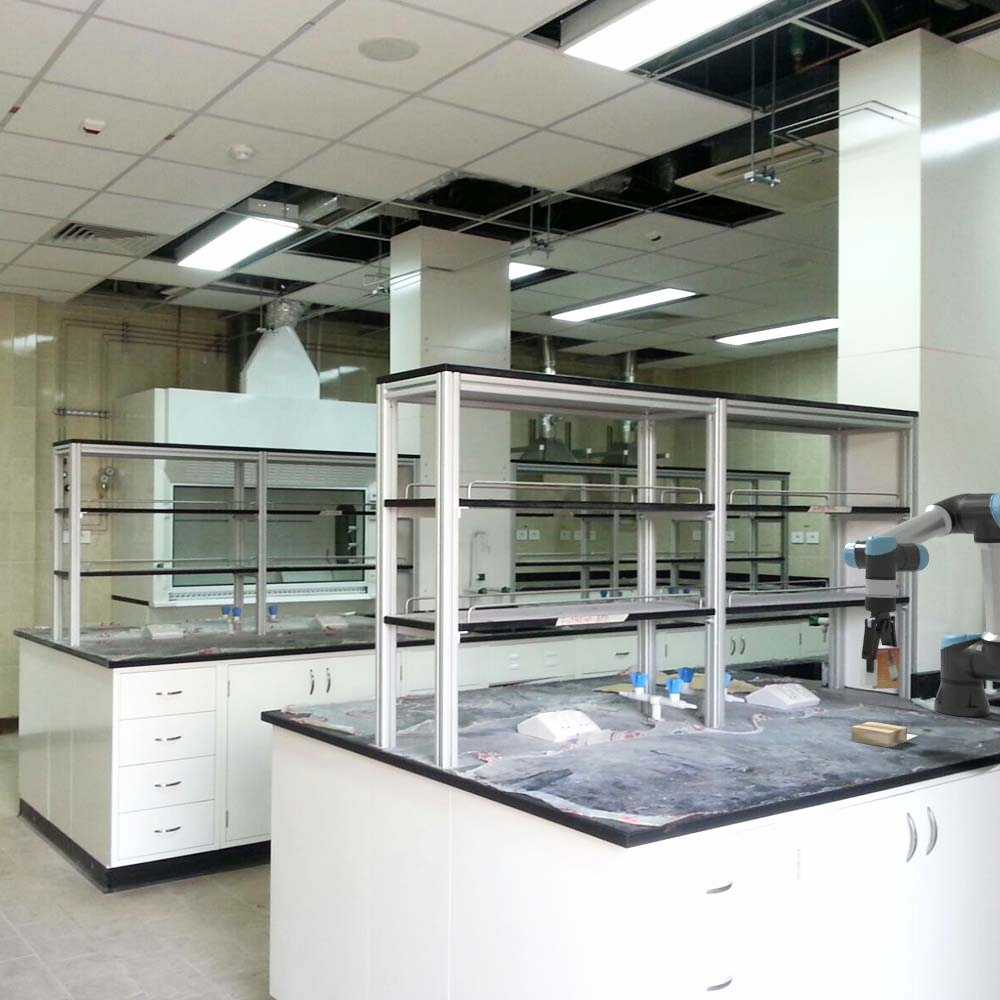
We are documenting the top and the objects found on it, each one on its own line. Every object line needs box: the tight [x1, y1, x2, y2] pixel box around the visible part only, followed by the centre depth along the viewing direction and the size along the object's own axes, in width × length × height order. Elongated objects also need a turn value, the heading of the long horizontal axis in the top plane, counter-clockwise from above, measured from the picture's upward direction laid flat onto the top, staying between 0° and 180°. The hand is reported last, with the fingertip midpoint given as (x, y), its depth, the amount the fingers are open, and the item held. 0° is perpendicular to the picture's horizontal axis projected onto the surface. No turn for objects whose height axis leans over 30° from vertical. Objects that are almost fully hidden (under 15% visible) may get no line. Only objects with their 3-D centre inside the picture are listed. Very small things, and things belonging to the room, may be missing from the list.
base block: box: [850, 721, 908, 748], centre depth 269 cm, size 10×10×4 cm
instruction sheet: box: [907, 733, 919, 741], centre depth 276 cm, size 7×10×1 cm
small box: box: [859, 644, 900, 690], centre depth 269 cm, size 8×6×10 cm
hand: (879, 682), depth 269 cm, fingers closed on small box, 9 cm apart
